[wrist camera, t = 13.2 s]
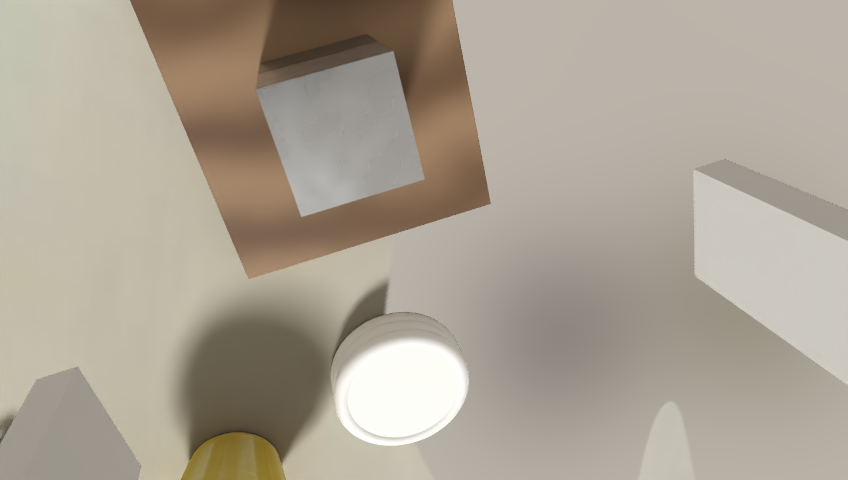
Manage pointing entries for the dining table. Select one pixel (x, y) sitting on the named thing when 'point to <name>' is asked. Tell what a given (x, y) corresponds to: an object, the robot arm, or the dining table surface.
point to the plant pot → (235, 459)
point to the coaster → (398, 379)
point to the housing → (339, 122)
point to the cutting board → (251, 137)
